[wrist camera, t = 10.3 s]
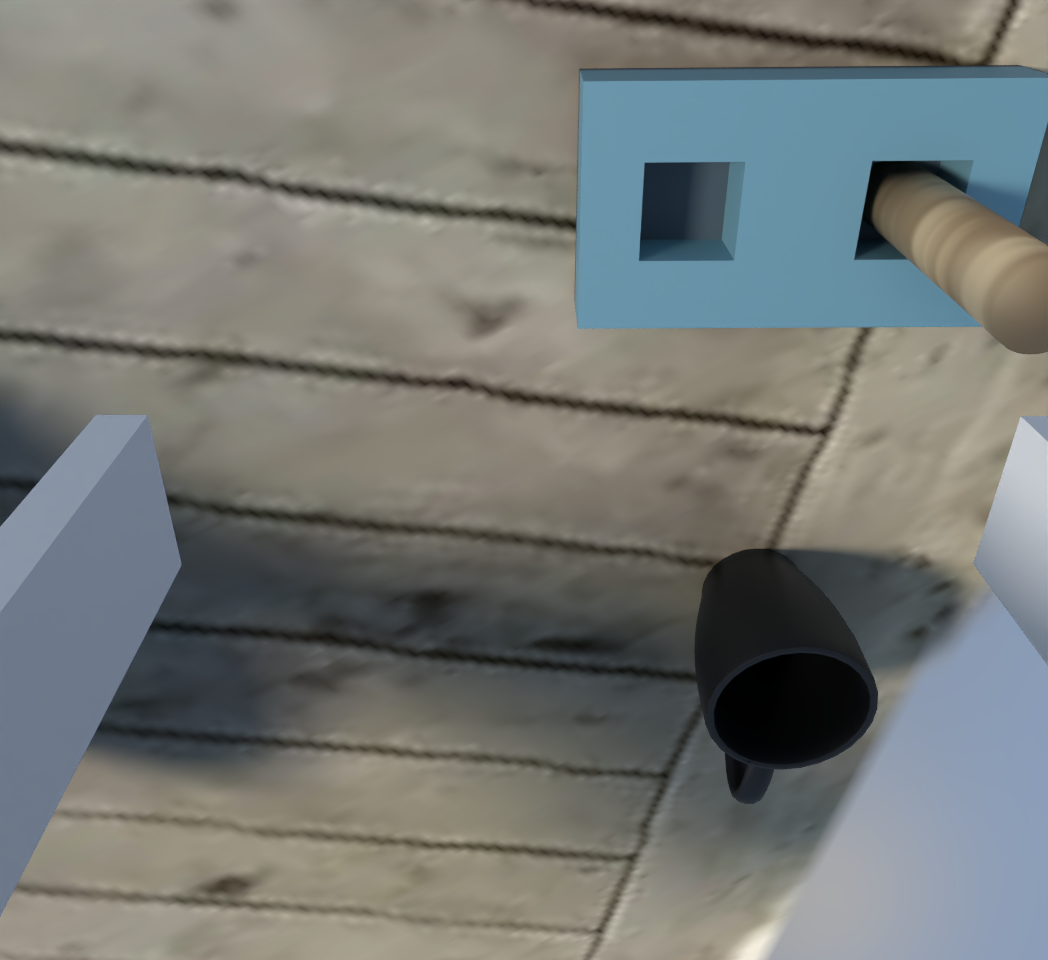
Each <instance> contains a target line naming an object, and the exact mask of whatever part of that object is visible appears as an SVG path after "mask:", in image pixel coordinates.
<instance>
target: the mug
mask: <svg viewBox="0 0 1048 960" xmlns="http://www.w3.org/2000/svg"><path fill="white" fill-rule="evenodd" d="M695 668H696V680H697V686H698V691H699V696H700V701H701V705H702V710H703V714H704V719H705V724H706V727H707V729H708V731H709V734H710V736H711V738H712V739H713V740H714V742H715V743H716V744H717V745H718V746H719V748H720V749H721V750H722V751H724V752H725V760H726V772H727V779H728V784H729V788H730V791H731V794H732V796H733V797H734V798H735V799H736V800H738V801H739V802H742V803H745V804H754V803H756V802H758V801H760V800H761V799H762V797H763V795H764V794H765V792H766V790H767V788H768V786H769V783H770V780H771V777H772V774H773V771H774V769H792V768H802V767H805V766H809V765H813V764H817V763H820V762H823V761H825V760H827V759H830V758H832V757H835V756H837V755H838V754H840V753H841V752H843V751H845V750H846V749H848V748H849V747H851V746H852V745H853V744H854V743H855V742H856V741H857V740H858V739H859V738H861V737H862V736H863V735H864V733H865V732H866V730H867V729H868V727H869V726H870V725H871V723H872V721H873V718H874V716H875V713H876V710H877V700H878V691H877V687H876V684H875V680H874V677H873V675H872V673H871V671H870V669H869V666H868V664H867V662H866V660H865V657H864V655H863V653H862V651H861V649H860V647H859V645H858V642H857V640H856V638H855V636H854V635H853V633H852V632H851V630H850V628H849V627H848V625H847V624H846V622H845V621H844V619H843V618H842V616H841V615H840V613H839V612H838V610H837V609H836V608H835V606H834V605H833V604H832V603H831V601H830V600H829V599H828V598H827V597H826V595H825V594H824V593H823V592H822V591H821V590H820V589H819V588H818V587H817V586H816V585H815V584H814V583H813V582H812V581H811V580H810V579H809V578H808V577H806V576H805V575H804V574H803V573H802V572H801V571H800V570H799V569H798V568H797V567H796V566H795V564H794V563H793V562H791V561H790V560H789V559H788V558H787V557H785V556H783V555H781V554H779V553H777V552H773V551H769V550H762V549H752V550H745V551H741V552H738V553H734V554H732V555H730V556H728V557H726V558H724V559H723V560H721V561H720V562H719V563H718V564H716V565H715V566H714V567H713V568H712V570H711V571H710V572H709V573H708V575H707V577H706V579H705V581H704V584H703V589H702V598H701V603H700V608H699V613H698V618H697V624H696V633H695Z"/></svg>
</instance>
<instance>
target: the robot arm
mask: <svg viewBox="0 0 1048 960" xmlns="http://www.w3.org/2000/svg"><path fill="white" fill-rule="evenodd" d="M973 564H974V566H975V567H976V568H977V570H978V571H979V572H980V574H981V575H982V577H983V578H984V579H985V581H986V582H987V583H988V585H989V586H990V587H991V589H992V590H993V592H994V593H995V594H996V596H997V597H998V598H999V600H1000V601H1001V602H1002V604H1003V605H1004V606H1005V608H1006V609H1007V611H1008V612H1009V613H1010V615H1011V616H1012V617H1013V619H1014V620H1015V621H1016V623H1017V624H1018V625H1019V627H1020V628H1021V630H1022V631H1023V632H1024V634H1025V635H1026V636H1027V638H1028V639H1029V641H1030V642H1031V643H1032V645H1033V646H1034V647H1035V649H1036V650H1037V651H1038V653H1039V654H1040V655H1041V657H1042V658H1043V660H1044V661H1045V662H1046V663H1047V665H1048V416H1021V418H1020V421H1019V424H1018V427H1017V430H1016V433H1015V436H1014V439H1013V442H1012V445H1011V449H1010V452H1009V455H1008V458H1007V461H1006V464H1005V467H1004V470H1003V473H1002V476H1001V480H1000V483H999V486H998V489H997V492H996V495H995V498H994V501H993V504H992V507H991V511H990V514H989V517H988V520H987V523H986V526H985V529H984V532H983V535H982V538H981V542H980V545H979V548H978V551H977V554H976V557H975V560H974V563H973ZM181 565H182V564H181V560H180V555H179V551H178V546H177V542H176V538H175V533H174V529H173V524H172V520H171V516H170V511H169V507H168V502H167V498H166V494H165V489H164V485H163V480H162V476H161V472H160V467H159V463H158V458H157V454H156V450H155V445H154V441H153V436H152V432H151V427H150V423H149V419H148V415H96V416H95V417H94V418H93V419H92V420H91V421H90V423H89V424H88V425H87V426H86V427H85V428H84V430H83V431H82V432H81V433H80V434H79V435H78V437H77V438H76V439H75V440H74V441H73V442H72V444H71V445H70V446H69V447H68V448H67V449H66V451H65V452H64V453H63V454H62V455H61V456H60V458H59V459H58V460H57V461H56V462H55V463H54V465H53V466H52V467H51V468H50V469H49V470H48V472H47V473H46V474H45V475H44V476H43V477H42V479H41V480H40V481H39V482H38V483H37V485H36V486H35V487H34V488H33V489H32V490H31V492H30V493H29V494H28V495H27V496H26V497H25V499H24V500H23V501H22V502H21V503H20V504H19V506H18V507H17V508H16V509H15V510H14V511H13V513H12V514H11V515H10V516H9V517H8V518H7V520H6V521H5V522H4V523H3V524H2V525H1V527H0V916H1V914H2V912H3V910H4V908H5V906H6V904H7V902H8V900H9V898H10V896H11V894H12V892H13V891H14V889H15V887H16V885H17V883H18V881H19V879H20V877H21V875H22V873H23V871H24V869H25V867H26V865H27V863H28V862H29V860H30V858H31V856H32V854H33V852H34V850H35V848H36V846H37V844H38V842H39V840H40V838H41V836H42V834H43V832H44V831H45V829H46V827H47V825H48V823H49V821H50V819H51V817H52V815H53V813H54V811H55V809H56V807H57V805H58V803H59V802H60V800H61V798H62V796H63V794H64V792H65V790H66V788H67V786H68V784H69V782H70V780H71V778H72V776H73V774H74V773H75V771H76V769H77V767H78V765H79V763H80V761H81V759H82V757H83V755H84V753H85V751H86V749H87V747H88V745H89V743H90V742H91V740H92V738H93V736H94V734H95V732H96V730H97V728H98V726H99V724H100V722H101V720H102V718H103V716H104V714H105V713H106V711H107V709H108V707H109V705H110V703H111V701H112V699H113V697H114V695H115V693H116V691H117V689H118V687H119V685H120V684H121V682H122V680H123V678H124V676H125V674H126V672H127V670H128V668H129V666H130V664H131V662H132V660H133V658H134V656H135V654H136V653H137V651H138V649H139V647H140V645H141V643H142V641H143V639H144V637H145V635H146V633H147V631H148V629H149V627H150V625H151V624H152V622H153V620H154V618H155V616H156V614H157V612H158V610H159V608H160V606H161V604H162V602H163V600H164V598H165V596H166V595H167V593H168V591H169V589H170V587H171V585H172V583H173V581H174V579H175V577H176V575H177V573H178V571H179V569H180V567H181Z"/></svg>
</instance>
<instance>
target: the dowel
mask: <svg viewBox="0 0 1048 960" xmlns="http://www.w3.org/2000/svg"><path fill="white" fill-rule="evenodd" d="M862 218H863V219H864V220H865V221H866V222H867V223H868V224H869V225H870V226H872V227H873V228H874V229H875V230H876V231H877V232H878V233H879V234H880V235H882V236H883V237H884V238H885V239H886V240H887V241H888V242H889V243H890V244H892V245H893V246H894V247H895V248H896V249H897V250H898V251H899V252H900V253H901V254H903V255H904V256H905V257H906V258H907V259H908V260H909V261H910V262H911V263H913V264H914V265H915V266H916V267H917V268H918V269H919V270H920V271H921V272H923V273H924V274H925V275H926V276H927V277H928V278H929V279H930V280H931V281H933V282H934V283H935V284H936V285H937V286H938V287H939V288H940V289H941V290H943V291H944V292H945V293H946V294H947V295H948V296H949V297H950V298H951V299H953V300H954V301H955V302H956V303H957V304H958V305H959V306H960V307H961V308H963V309H964V310H965V311H966V312H967V313H968V314H969V315H970V316H971V317H973V318H974V319H975V320H976V321H977V322H978V323H979V324H980V325H981V326H983V327H984V328H985V329H986V330H987V331H988V332H989V333H990V334H991V335H993V336H994V337H995V338H996V339H997V340H998V341H999V342H1000V343H1001V344H1003V345H1004V346H1005V347H1006V348H1008V349H1010V350H1012V351H1014V352H1017V353H1021V354H1039V353H1044V352H1047V351H1048V245H1046V244H1045V243H1043V242H1041V241H1040V240H1038V239H1037V238H1035V237H1033V236H1032V235H1030V234H1029V233H1027V232H1026V231H1024V230H1022V229H1021V228H1019V227H1018V226H1016V225H1014V224H1013V223H1011V222H1010V221H1008V220H1006V219H1005V218H1003V217H1002V216H1000V215H999V214H997V213H995V212H994V211H992V210H991V209H989V208H987V207H986V206H984V205H983V204H981V203H979V202H978V201H976V200H975V199H973V198H971V197H970V196H968V195H967V194H965V193H964V192H962V191H960V190H959V189H957V188H956V187H954V186H952V185H951V184H949V183H948V182H946V181H944V180H943V179H941V178H940V177H938V176H936V175H935V174H933V173H932V172H930V171H929V170H927V169H925V168H924V167H922V166H921V165H919V164H917V163H916V162H914V161H879V162H878V163H876V164H875V165H873V166H872V167H871V170H870V176H869V181H868V187H867V192H866V198H865V203H864V209H863V214H862Z"/></svg>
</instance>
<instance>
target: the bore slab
mask: <svg viewBox="0 0 1048 960" xmlns="http://www.w3.org/2000/svg"><path fill="white" fill-rule="evenodd" d="M1047 123H1048V74H1046V73H1043V72H1039V71H1036V70H1033V69H1029V68H1026V67H1023V66H1019V65H979V66H857V67H735V68H613V69H579V116H578V163H577V210H576V258H575V308H576V318H577V327H578V329H587V328H791V327H983V326H981V325H980V324H979V323H978V322H977V321H976V320H975V319H974V318H973V317H971V316H970V315H969V314H968V313H967V312H966V311H965V310H964V309H963V308H961V307H960V306H959V305H958V304H957V303H956V302H955V301H954V300H953V299H951V298H950V297H949V296H948V295H947V294H946V293H945V292H944V291H943V290H941V289H940V288H939V287H938V286H937V285H936V284H935V283H934V282H933V281H931V280H930V279H929V278H928V277H927V276H926V275H925V274H924V273H923V272H921V271H920V270H919V269H918V268H917V267H916V266H915V265H914V264H913V263H911V262H910V261H909V260H908V259H907V258H906V257H905V256H904V255H903V254H901V253H900V252H899V251H898V250H897V249H896V248H895V247H894V246H893V245H892V244H890V243H889V242H888V241H887V240H886V239H885V238H884V237H883V236H882V235H880V234H879V233H878V232H877V231H876V230H875V229H874V228H873V227H872V226H870V225H869V224H868V223H867V222H866V221H865V220H864V219H863V218H862V214H863V209H864V203H865V198H866V192H867V187H868V181H869V176H870V170H871V167H872V166H873V165H875V164H876V163H878V162H879V161H914V162H916V163H917V164H919V165H921V166H922V167H924V168H925V169H927V170H929V171H930V172H932V173H933V174H935V175H936V176H938V177H940V178H941V179H943V180H944V181H946V182H948V183H949V184H951V185H952V186H954V187H956V188H957V189H959V190H960V191H962V192H964V193H965V194H967V195H968V196H970V197H971V198H973V199H975V200H976V201H978V202H979V203H981V204H983V205H984V206H986V207H987V208H989V209H991V210H992V211H994V212H995V213H997V214H999V215H1000V216H1002V217H1003V218H1005V219H1006V220H1008V221H1010V222H1011V223H1013V224H1014V225H1016V226H1018V227H1019V225H1020V222H1021V218H1022V214H1023V211H1024V207H1025V203H1026V200H1027V196H1028V193H1029V189H1030V185H1031V182H1032V178H1033V174H1034V171H1035V167H1036V163H1037V160H1038V156H1039V152H1040V149H1041V145H1042V142H1043V138H1044V134H1045V131H1046V127H1047Z"/></svg>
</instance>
